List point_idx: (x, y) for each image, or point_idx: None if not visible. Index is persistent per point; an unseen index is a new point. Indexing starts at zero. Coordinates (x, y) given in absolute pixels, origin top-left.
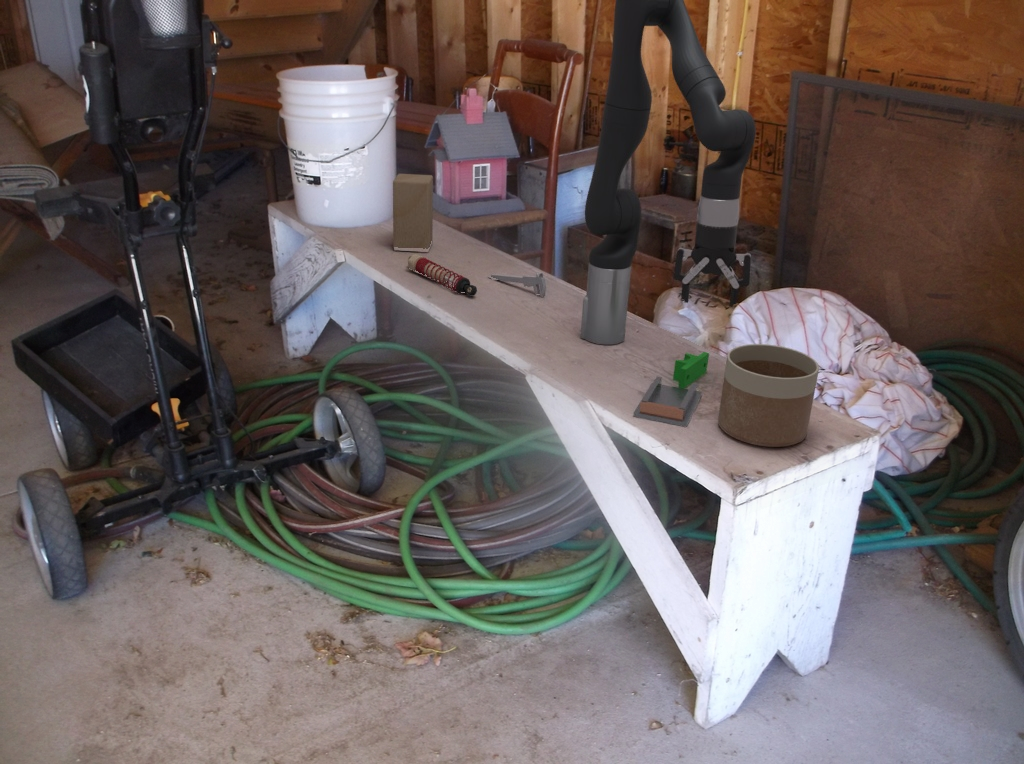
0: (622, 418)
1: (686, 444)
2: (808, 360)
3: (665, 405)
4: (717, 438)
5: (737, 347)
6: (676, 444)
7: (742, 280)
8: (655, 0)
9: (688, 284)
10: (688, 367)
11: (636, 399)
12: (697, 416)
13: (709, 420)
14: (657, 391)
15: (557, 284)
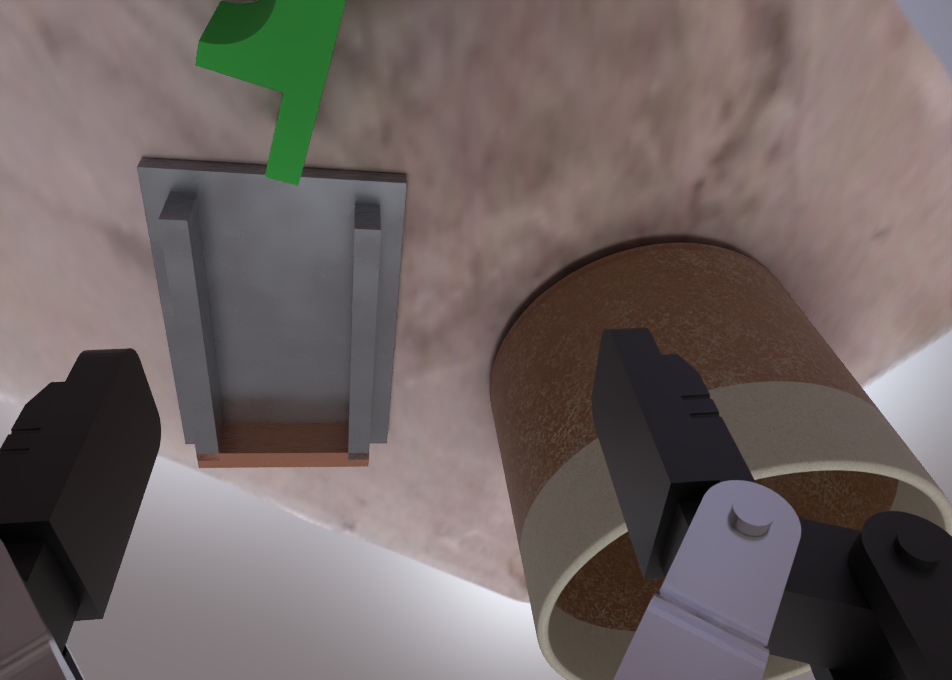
0: (159, 453)
1: (403, 511)
2: (934, 509)
3: (295, 455)
4: (490, 457)
5: (595, 554)
6: (375, 520)
7: (823, 660)
8: None
9: (80, 611)
10: (306, 151)
11: (137, 310)
12: (412, 355)
13: (458, 367)
14: (204, 263)
15: None
